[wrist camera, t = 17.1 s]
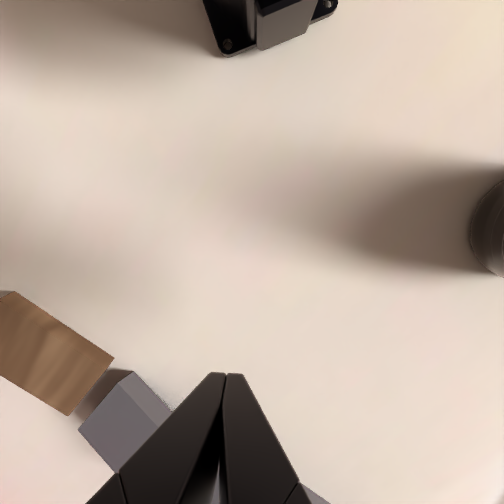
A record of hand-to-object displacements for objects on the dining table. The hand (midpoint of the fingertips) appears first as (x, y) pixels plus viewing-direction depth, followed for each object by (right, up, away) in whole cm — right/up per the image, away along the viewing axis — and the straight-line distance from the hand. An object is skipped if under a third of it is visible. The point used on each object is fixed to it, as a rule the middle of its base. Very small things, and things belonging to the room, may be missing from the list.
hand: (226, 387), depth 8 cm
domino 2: (-10, -7, +14) cm, 19 cm away
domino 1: (-17, -1, +13) cm, 21 cm away
